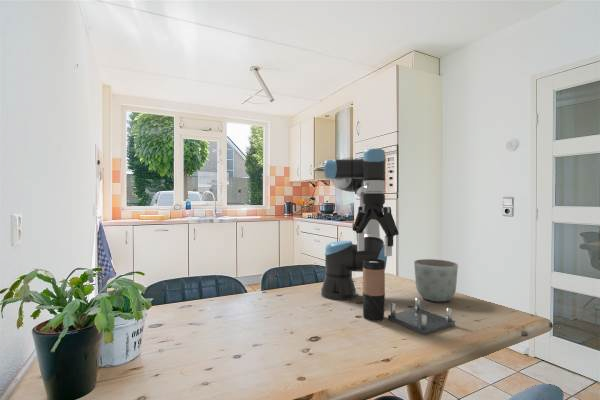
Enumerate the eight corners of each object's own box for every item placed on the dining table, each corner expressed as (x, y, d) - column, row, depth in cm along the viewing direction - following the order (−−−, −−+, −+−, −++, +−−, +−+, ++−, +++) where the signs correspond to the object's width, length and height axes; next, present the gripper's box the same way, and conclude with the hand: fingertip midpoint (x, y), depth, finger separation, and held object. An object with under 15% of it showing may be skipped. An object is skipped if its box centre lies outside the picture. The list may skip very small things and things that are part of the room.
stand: (388, 319, 111) (388, 303, 111) (417, 311, 119) (417, 297, 119) (424, 335, 98) (424, 317, 98) (454, 325, 106) (454, 308, 106)
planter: (460, 297, 137) (460, 261, 137) (455, 308, 123) (455, 268, 123) (418, 291, 146) (419, 257, 146) (409, 300, 132) (409, 263, 132)
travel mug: (385, 322, 108) (385, 263, 108) (362, 320, 110) (362, 262, 110) (384, 314, 116) (384, 259, 116) (362, 312, 117) (362, 258, 117)
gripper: (343, 193, 122) (343, 249, 121) (393, 191, 100) (393, 259, 100) (358, 194, 125) (358, 248, 125) (409, 192, 104) (409, 257, 104)
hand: (373, 253), depth 113 cm, fingers open, 13 cm apart
